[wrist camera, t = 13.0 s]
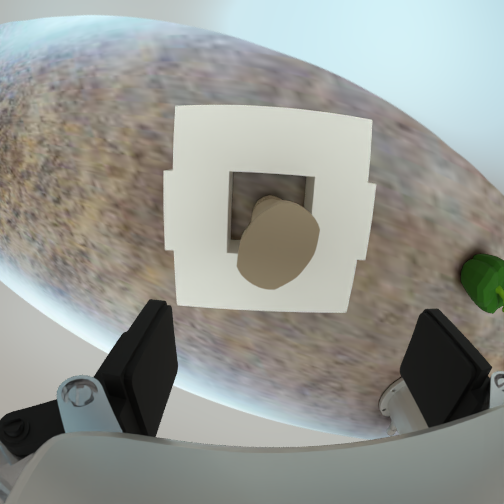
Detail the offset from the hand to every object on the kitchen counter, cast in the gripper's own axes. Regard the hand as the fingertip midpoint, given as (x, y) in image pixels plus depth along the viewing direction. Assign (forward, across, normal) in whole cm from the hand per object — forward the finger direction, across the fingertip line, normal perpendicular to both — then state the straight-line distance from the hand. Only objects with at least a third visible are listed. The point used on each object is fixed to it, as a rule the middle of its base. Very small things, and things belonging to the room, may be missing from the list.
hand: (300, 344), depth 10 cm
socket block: (+26, 0, 0) cm, 26 cm away
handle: (+26, 0, 0) cm, 26 cm away
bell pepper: (+26, -34, +6) cm, 43 cm away
